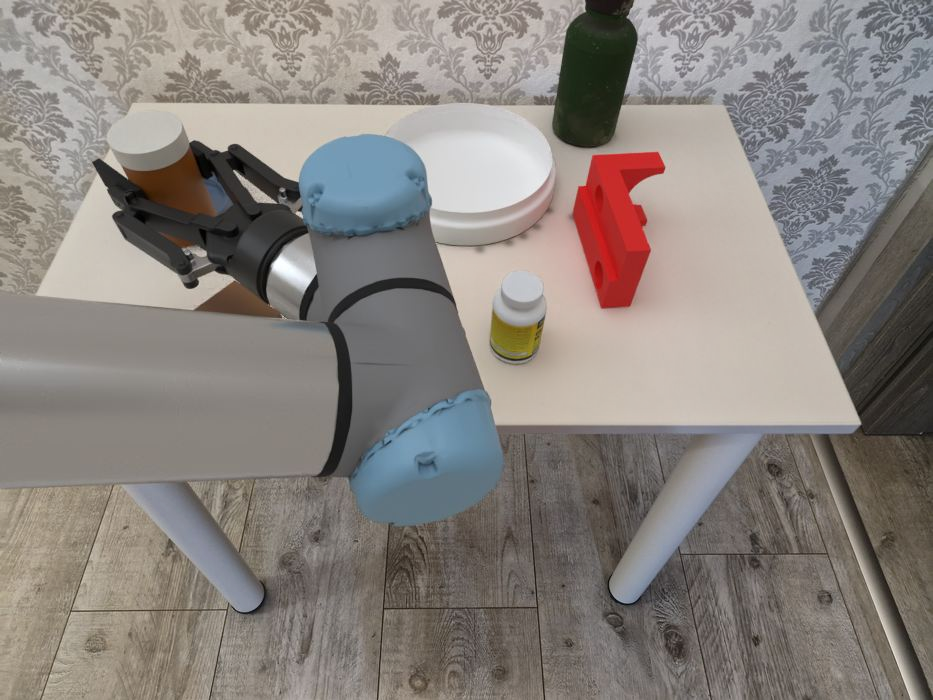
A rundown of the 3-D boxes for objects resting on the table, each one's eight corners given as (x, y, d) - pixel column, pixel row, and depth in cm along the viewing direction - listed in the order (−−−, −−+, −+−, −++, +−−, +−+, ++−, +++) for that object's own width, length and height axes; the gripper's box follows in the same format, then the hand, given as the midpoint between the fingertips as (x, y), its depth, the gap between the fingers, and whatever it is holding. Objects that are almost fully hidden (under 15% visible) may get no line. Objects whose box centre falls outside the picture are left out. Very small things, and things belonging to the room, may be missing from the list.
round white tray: (556, 251, 86) (562, 221, 81) (364, 242, 86) (359, 212, 82) (549, 133, 102) (554, 103, 97) (386, 126, 102) (383, 95, 97)
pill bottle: (540, 366, 74) (552, 308, 65) (489, 365, 74) (494, 307, 65) (537, 326, 78) (549, 265, 69) (488, 324, 78) (494, 264, 69)
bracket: (585, 155, 82) (658, 151, 83) (572, 214, 90) (639, 210, 91) (619, 252, 72) (702, 246, 72) (601, 308, 80) (676, 302, 81)
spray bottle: (546, 141, 100) (570, -23, 80) (558, 106, 106) (584, -56, 86) (609, 154, 99) (651, -11, 78) (618, 117, 105) (658, -45, 84)
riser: (241, 392, 71) (223, 358, 66) (198, 356, 74) (177, 320, 68) (293, 349, 75) (280, 313, 69) (250, 316, 78) (234, 279, 72)
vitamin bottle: (162, 255, 59) (112, 161, 50) (151, 215, 63) (101, 120, 54) (227, 236, 61) (189, 142, 52) (212, 198, 64) (174, 103, 55)
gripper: (218, 369, 49) (61, 237, 57) (382, 241, 58) (225, 142, 66) (186, 309, 43) (15, 171, 51) (374, 176, 52) (203, 76, 60)
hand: (134, 155), depth 59 cm, fingers closed on vitamin bottle, 6 cm apart
